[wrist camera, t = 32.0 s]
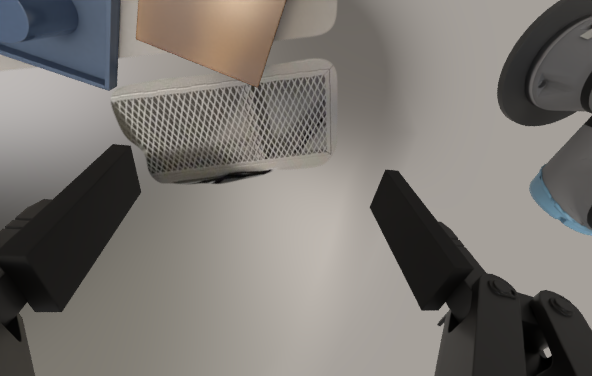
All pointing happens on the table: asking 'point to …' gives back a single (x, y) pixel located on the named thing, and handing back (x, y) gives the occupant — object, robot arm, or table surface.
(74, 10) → the slate blue cylinder
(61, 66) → the blue tray
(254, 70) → the brown wooden block
